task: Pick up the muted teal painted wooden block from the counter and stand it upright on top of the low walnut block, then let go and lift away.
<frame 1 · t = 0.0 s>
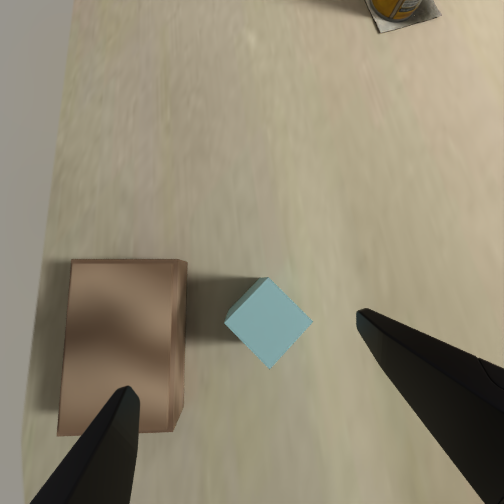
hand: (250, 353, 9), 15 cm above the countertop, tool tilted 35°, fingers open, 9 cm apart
walnut block: (139, 332, 23), on the countertop
teal block: (260, 309, 24), on the countertop
condiment: (397, 3, 29), on the countertop
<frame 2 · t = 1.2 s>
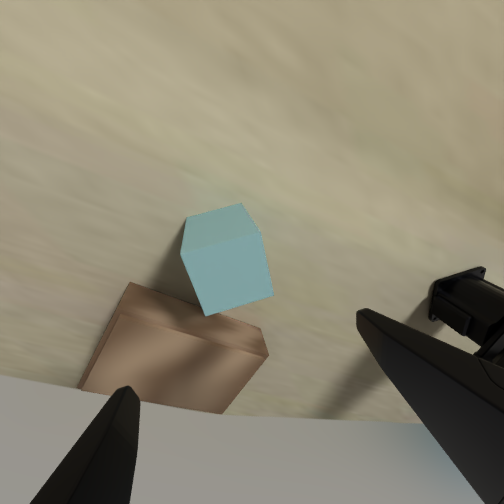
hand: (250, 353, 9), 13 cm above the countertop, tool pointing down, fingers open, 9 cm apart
walnut block: (182, 340, 24), on the countertop
teal block: (221, 235, 20), on the countertop
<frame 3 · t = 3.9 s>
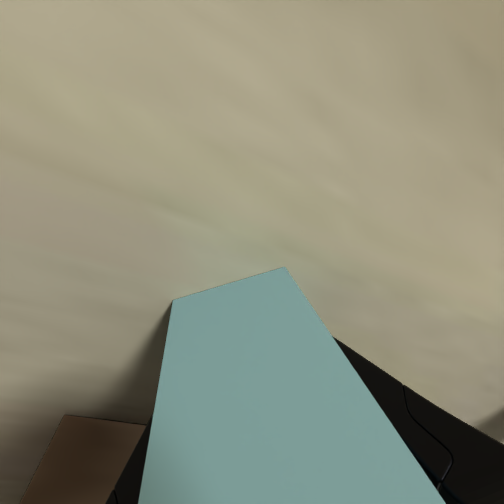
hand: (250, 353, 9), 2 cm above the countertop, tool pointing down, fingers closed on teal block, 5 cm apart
walnut block: (170, 477, 14), on the countertop
teal block: (243, 324, 10), on the countertop, touching gripper
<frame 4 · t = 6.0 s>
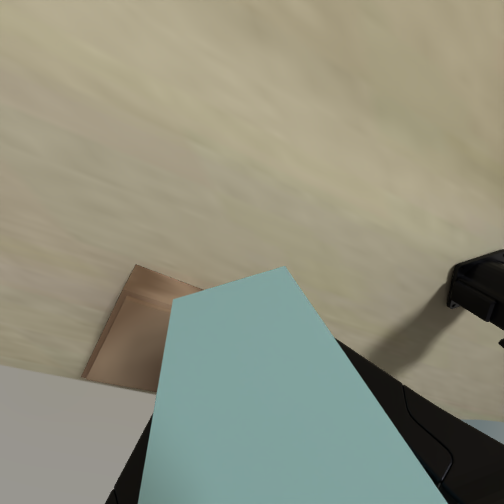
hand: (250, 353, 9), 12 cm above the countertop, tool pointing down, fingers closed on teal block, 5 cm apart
walnut block: (190, 328, 23), on the countertop
teal block: (243, 324, 10), point 10 cm above the countertop, touching gripper
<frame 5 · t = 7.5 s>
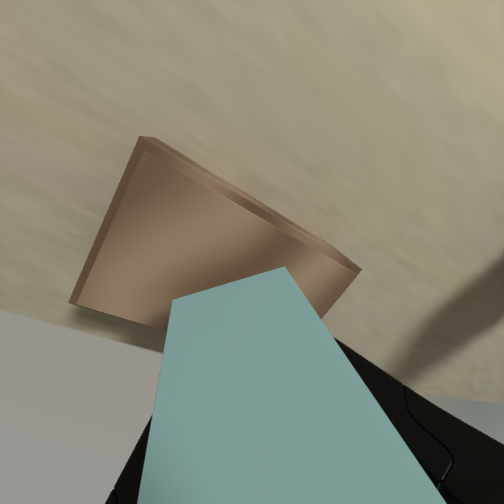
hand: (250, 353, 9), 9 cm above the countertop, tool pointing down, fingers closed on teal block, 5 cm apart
walnut block: (225, 256, 16), on the countertop
teal block: (243, 324, 10), point 7 cm above the countertop, touching gripper
when the fingers open (7 cm above the countertop, at t = 8.6 s): teal block drops 1 cm, resting on walnut block.
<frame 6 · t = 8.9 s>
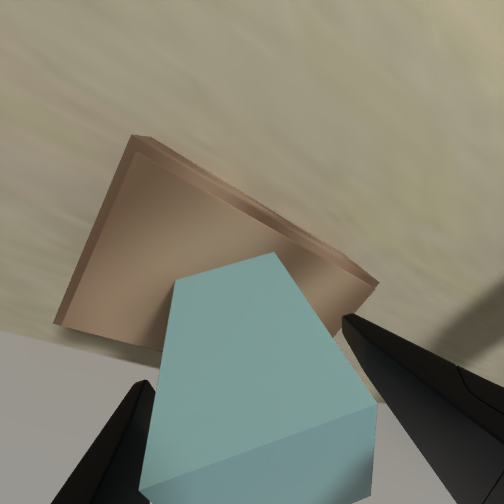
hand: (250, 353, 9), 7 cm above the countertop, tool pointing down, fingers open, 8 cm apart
walnut block: (228, 266, 15), on the countertop
teal block: (237, 304, 12), point 4 cm above the countertop, touching walnut block
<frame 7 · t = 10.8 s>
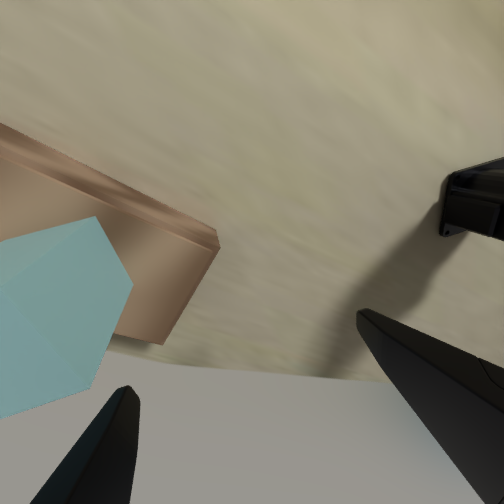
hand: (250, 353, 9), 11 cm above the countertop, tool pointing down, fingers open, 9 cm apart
walnut block: (100, 239, 17), on the countertop
teal block: (75, 264, 13), point 4 cm above the countertop, touching walnut block
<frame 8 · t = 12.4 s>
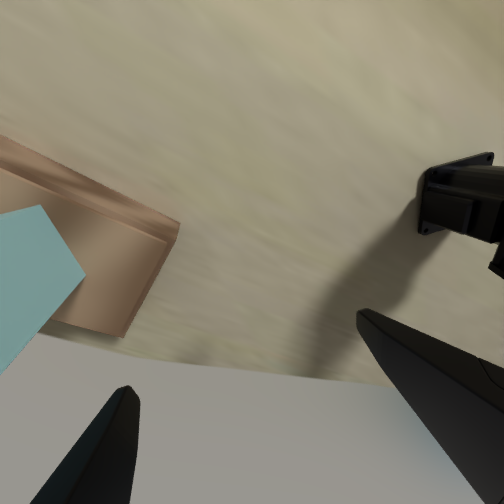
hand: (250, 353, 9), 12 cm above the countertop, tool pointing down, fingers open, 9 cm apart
walnut block: (61, 230, 17), on the countertop
teal block: (23, 253, 13), point 4 cm above the countertop, touching walnut block
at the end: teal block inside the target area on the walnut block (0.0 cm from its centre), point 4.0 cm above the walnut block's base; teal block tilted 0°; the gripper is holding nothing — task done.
